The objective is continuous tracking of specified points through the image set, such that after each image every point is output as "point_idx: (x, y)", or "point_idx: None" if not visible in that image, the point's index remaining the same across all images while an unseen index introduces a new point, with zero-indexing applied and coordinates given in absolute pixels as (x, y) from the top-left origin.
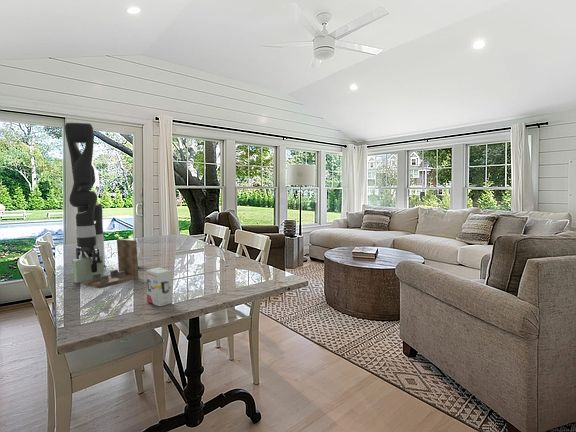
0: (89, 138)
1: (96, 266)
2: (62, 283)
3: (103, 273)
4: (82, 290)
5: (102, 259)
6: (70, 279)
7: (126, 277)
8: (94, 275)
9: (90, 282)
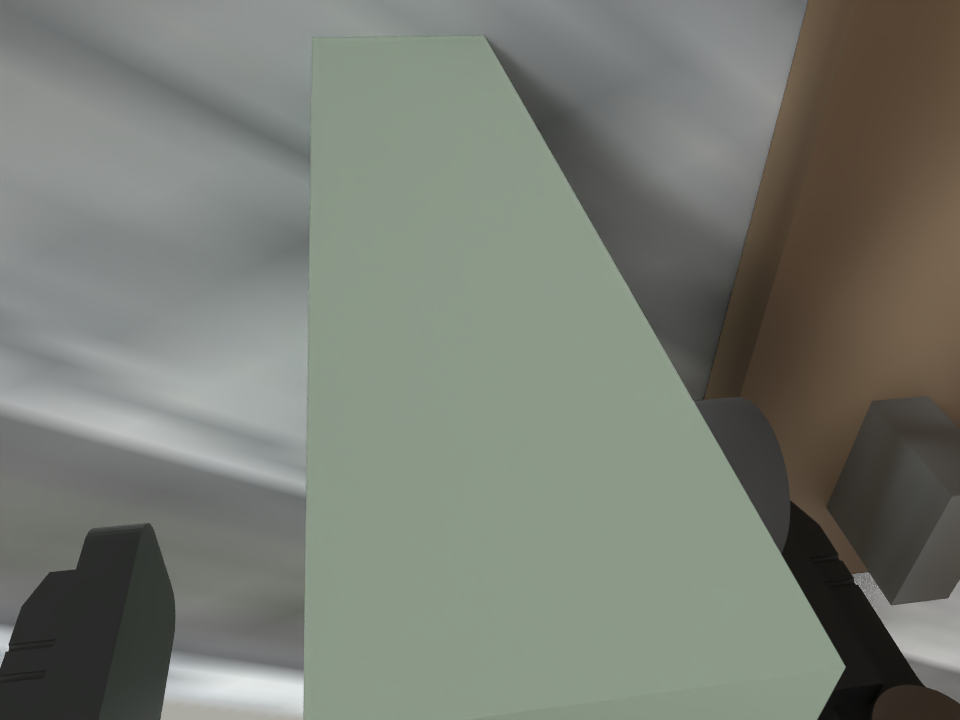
0: None
1: (870, 620)
2: (252, 683)
3: (502, 70)
4: (905, 636)
5: (688, 405)
6: (31, 562)
7: None
8: (948, 593)
9: (859, 558)
